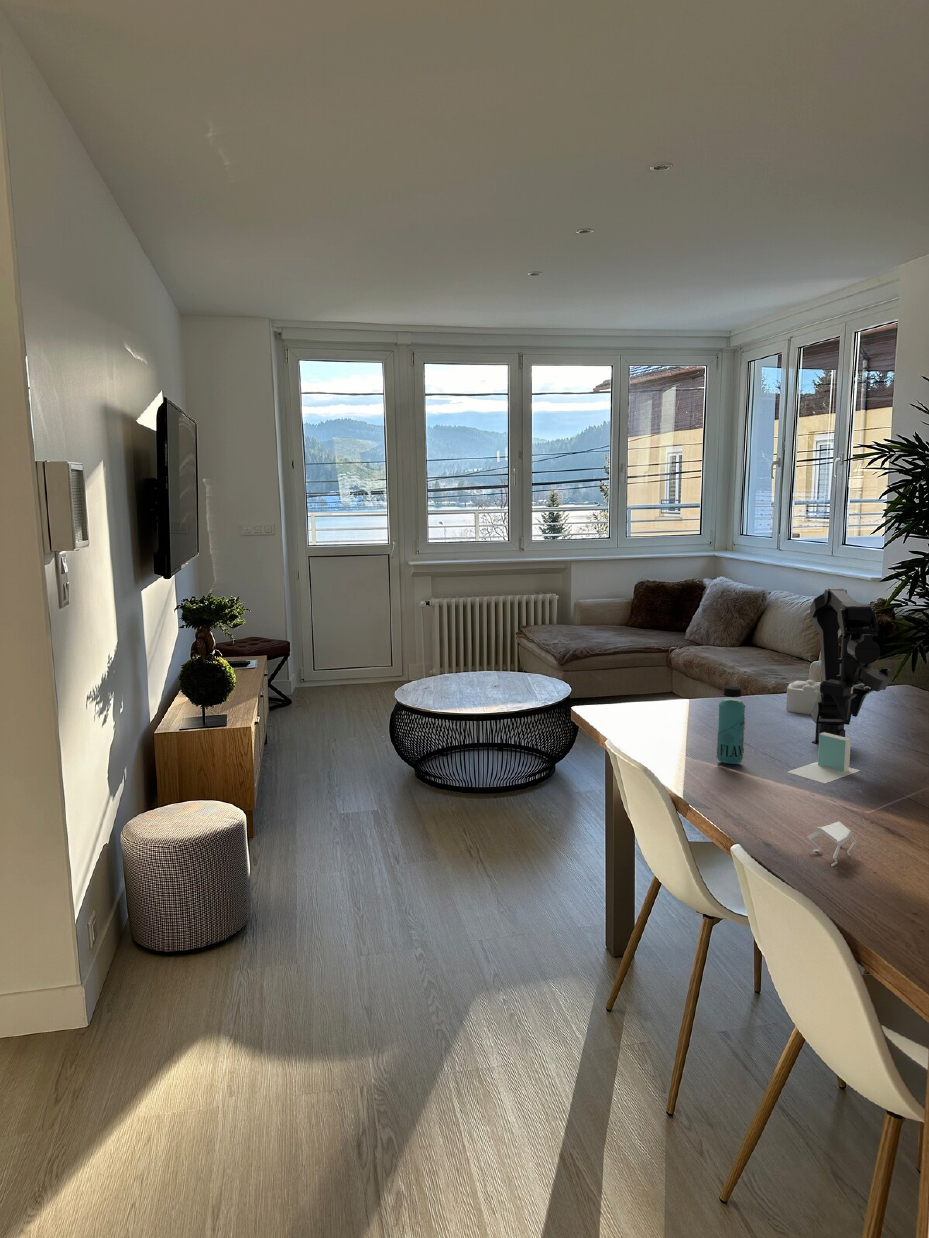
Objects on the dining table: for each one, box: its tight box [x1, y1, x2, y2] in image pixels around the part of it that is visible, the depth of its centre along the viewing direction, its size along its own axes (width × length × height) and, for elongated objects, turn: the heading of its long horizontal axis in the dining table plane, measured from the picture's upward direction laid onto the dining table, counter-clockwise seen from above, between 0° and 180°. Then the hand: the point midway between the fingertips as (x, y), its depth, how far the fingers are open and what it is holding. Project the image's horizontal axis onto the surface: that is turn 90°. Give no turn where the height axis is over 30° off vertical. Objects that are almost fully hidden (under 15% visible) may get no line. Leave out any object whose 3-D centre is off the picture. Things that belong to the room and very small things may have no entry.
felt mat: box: [787, 761, 862, 784], centre depth 204 cm, size 10×15×1 cm, turn 125°
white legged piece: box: [806, 821, 857, 867], centre depth 158 cm, size 12×8×5 cm
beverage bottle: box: [715, 685, 746, 765], centre depth 208 cm, size 6×7×20 cm
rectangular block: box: [817, 732, 852, 773], centre depth 205 cm, size 7×2×8 cm, turn 35°
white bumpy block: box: [785, 679, 822, 715], centre depth 260 cm, size 10×13×9 cm
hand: (849, 717), depth 207 cm, fingers open, 4 cm apart
